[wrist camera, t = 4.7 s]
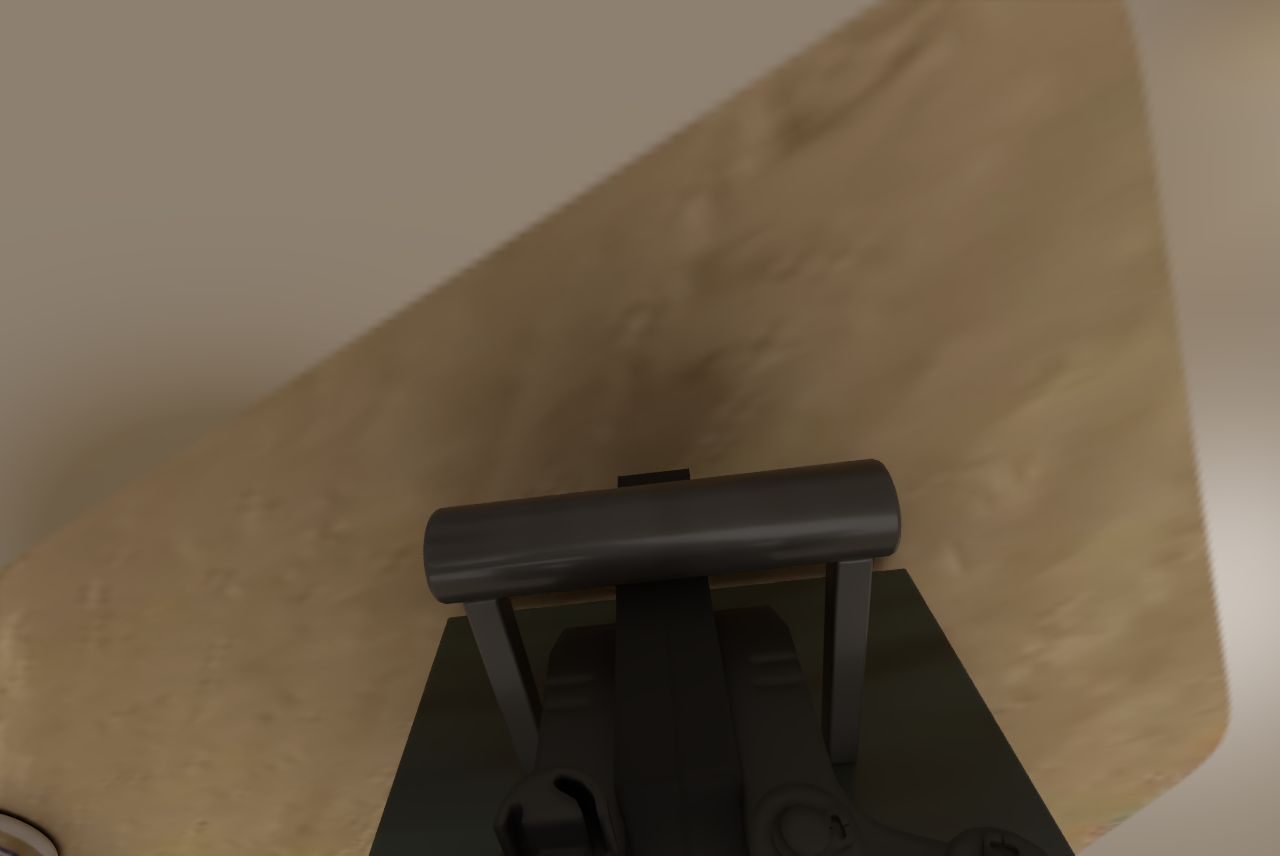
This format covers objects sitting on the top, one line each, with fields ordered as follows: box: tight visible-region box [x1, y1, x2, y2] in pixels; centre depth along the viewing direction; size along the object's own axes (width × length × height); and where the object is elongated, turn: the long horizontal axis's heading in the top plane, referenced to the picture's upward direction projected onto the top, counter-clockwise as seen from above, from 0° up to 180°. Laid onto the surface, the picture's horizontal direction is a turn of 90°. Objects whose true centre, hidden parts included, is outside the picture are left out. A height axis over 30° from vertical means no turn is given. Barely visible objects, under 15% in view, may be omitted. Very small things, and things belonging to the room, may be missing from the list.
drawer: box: [369, 459, 1075, 856], centre depth 15 cm, size 20×13×8 cm, turn 7°
